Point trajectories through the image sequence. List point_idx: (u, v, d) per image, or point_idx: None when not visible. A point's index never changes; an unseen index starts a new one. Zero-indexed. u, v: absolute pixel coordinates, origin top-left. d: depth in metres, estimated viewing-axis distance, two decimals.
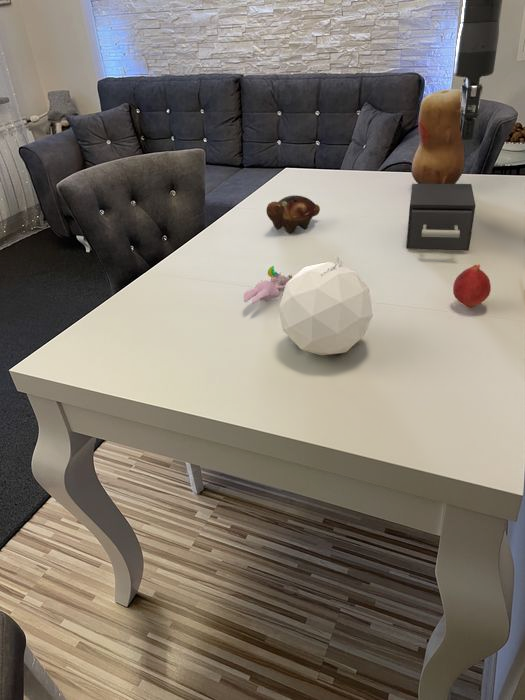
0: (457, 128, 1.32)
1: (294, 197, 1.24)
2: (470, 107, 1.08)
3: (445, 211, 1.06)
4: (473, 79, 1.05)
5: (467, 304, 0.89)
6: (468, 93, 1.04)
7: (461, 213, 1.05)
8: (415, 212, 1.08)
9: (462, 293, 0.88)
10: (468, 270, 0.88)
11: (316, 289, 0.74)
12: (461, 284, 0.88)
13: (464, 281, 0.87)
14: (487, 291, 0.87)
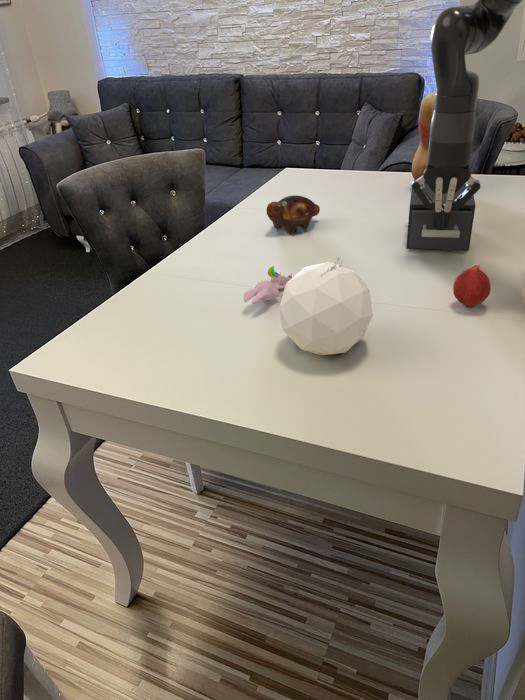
0: None
1: (294, 197, 1.24)
2: None
3: None
4: None
5: (467, 304, 0.89)
6: None
7: (461, 213, 1.05)
8: (415, 212, 1.08)
9: (462, 293, 0.88)
10: (468, 270, 0.88)
11: (316, 289, 0.74)
12: (461, 284, 0.88)
13: (464, 281, 0.87)
14: (487, 291, 0.87)
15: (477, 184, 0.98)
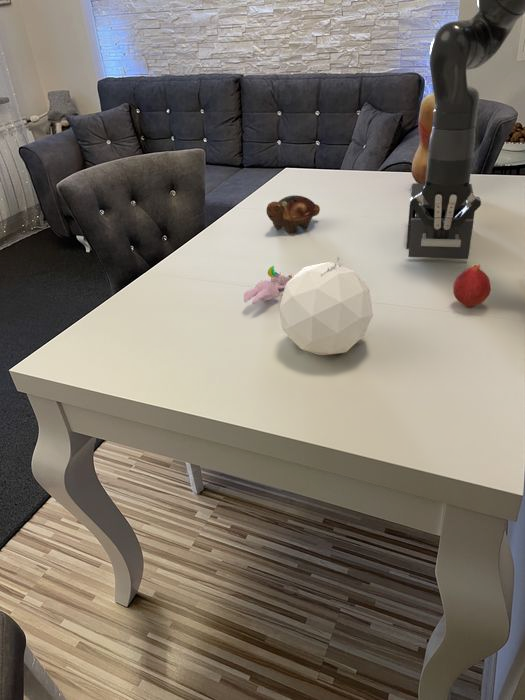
0: None
1: (294, 197, 1.24)
2: None
3: None
4: None
5: (467, 304, 0.89)
6: None
7: None
8: (414, 220, 1.04)
9: (462, 293, 0.88)
10: (468, 270, 0.88)
11: (316, 289, 0.74)
12: (461, 284, 0.88)
13: (464, 281, 0.87)
14: (487, 291, 0.87)
15: (477, 201, 0.96)
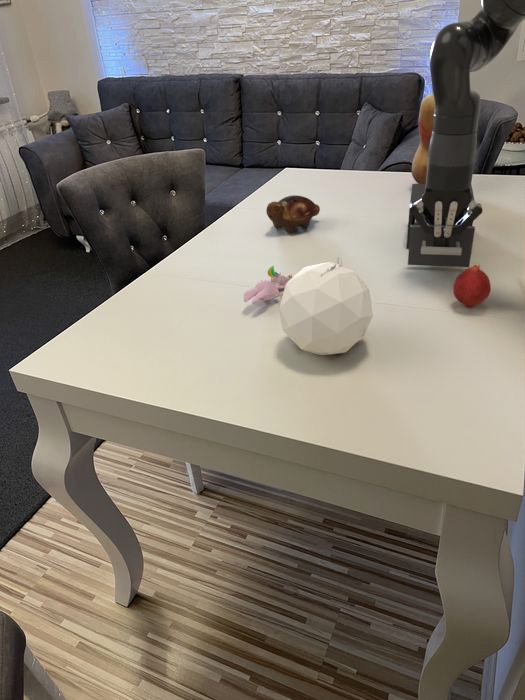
0: None
1: (294, 197, 1.24)
2: None
3: None
4: (425, 188, 0.94)
5: (467, 304, 0.89)
6: None
7: None
8: (414, 227, 1.01)
9: (462, 293, 0.88)
10: (468, 270, 0.88)
11: (316, 289, 0.74)
12: (461, 284, 0.88)
13: (464, 281, 0.87)
14: (487, 291, 0.87)
15: (479, 208, 0.93)
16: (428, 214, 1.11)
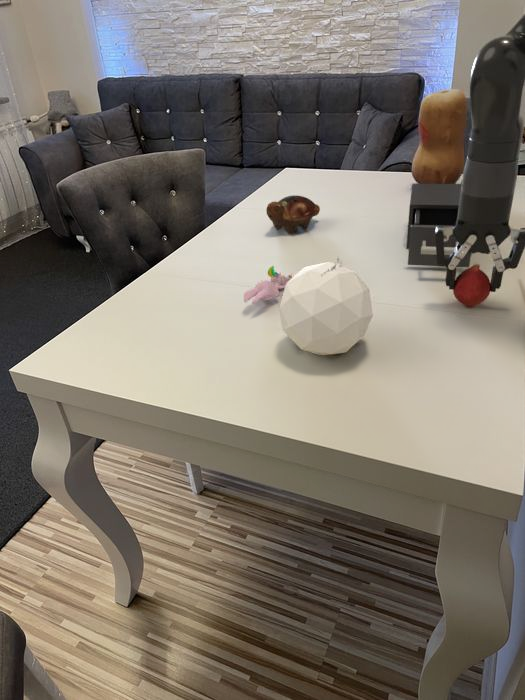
0: (457, 128, 1.32)
1: (294, 197, 1.24)
2: None
3: (446, 226, 0.99)
4: None
5: (467, 304, 0.89)
6: None
7: None
8: (414, 227, 1.01)
9: (462, 293, 0.88)
10: (468, 270, 0.88)
11: (316, 289, 0.74)
12: (461, 284, 0.88)
13: (463, 281, 0.87)
14: (487, 291, 0.87)
15: (523, 234, 0.81)
16: (428, 214, 1.11)
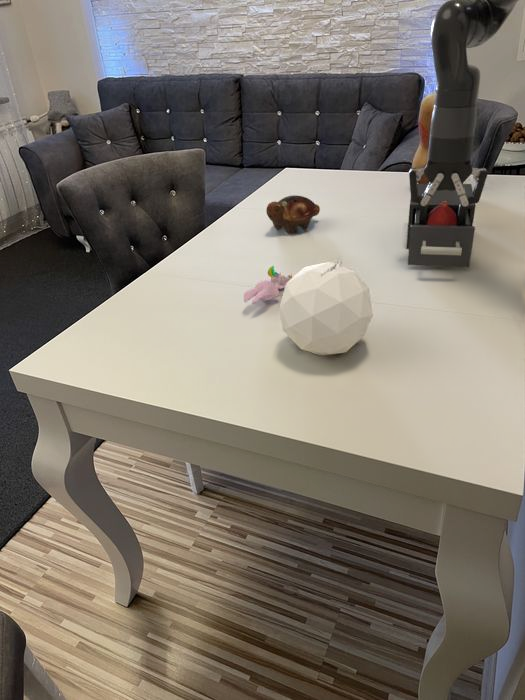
0: None
1: (294, 197, 1.24)
2: None
3: (446, 226, 0.99)
4: (427, 161, 0.99)
5: None
6: None
7: (463, 229, 0.98)
8: (414, 227, 1.01)
9: None
10: (438, 206, 1.02)
11: (316, 289, 0.74)
12: (432, 219, 1.02)
13: (434, 216, 1.02)
14: (454, 224, 1.02)
15: (482, 172, 0.96)
16: (428, 214, 1.11)
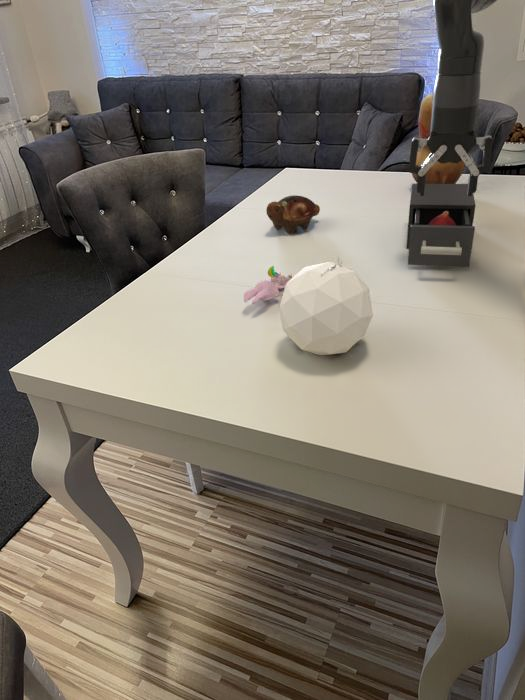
0: None
1: (294, 197, 1.24)
2: (427, 162, 0.99)
3: (446, 226, 1.00)
4: (430, 132, 0.96)
5: None
6: None
7: (463, 229, 0.99)
8: (414, 227, 1.01)
9: None
10: (439, 216, 1.03)
11: (316, 289, 0.74)
12: None
13: None
14: None
15: (487, 139, 0.93)
16: (428, 214, 1.11)
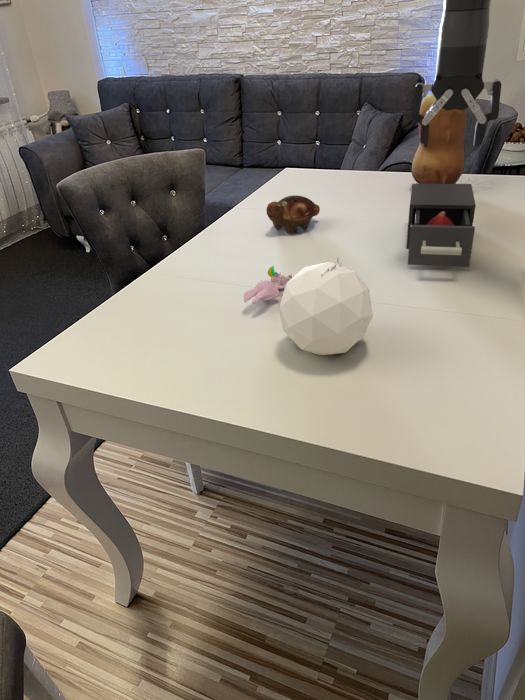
0: (457, 128, 1.32)
1: (294, 197, 1.24)
2: None
3: (446, 226, 1.00)
4: (435, 77, 0.91)
5: None
6: None
7: (463, 229, 0.99)
8: (414, 227, 1.01)
9: None
10: (436, 217, 1.03)
11: (316, 289, 0.74)
12: None
13: None
14: None
15: (495, 83, 0.88)
16: (428, 214, 1.11)
